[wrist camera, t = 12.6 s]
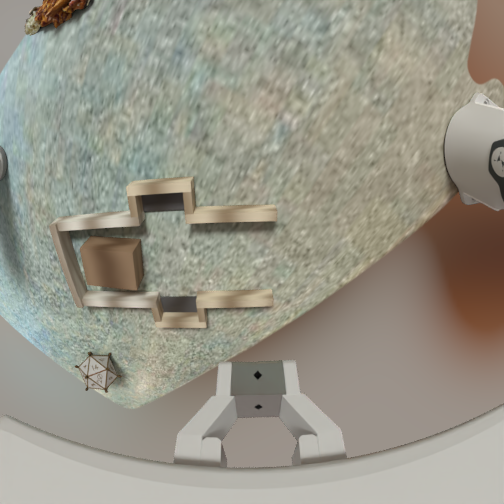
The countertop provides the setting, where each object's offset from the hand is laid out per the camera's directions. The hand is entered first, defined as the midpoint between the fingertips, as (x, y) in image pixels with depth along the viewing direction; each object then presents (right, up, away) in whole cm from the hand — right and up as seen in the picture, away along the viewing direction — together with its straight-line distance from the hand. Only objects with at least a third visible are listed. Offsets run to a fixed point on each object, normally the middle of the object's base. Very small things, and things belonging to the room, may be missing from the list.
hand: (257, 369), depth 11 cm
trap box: (-13, +4, +28) cm, 31 cm away
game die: (-30, -16, +39) cm, 52 cm away
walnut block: (-20, +4, +28) cm, 35 cm away
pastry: (-26, +38, +9) cm, 47 cm away
